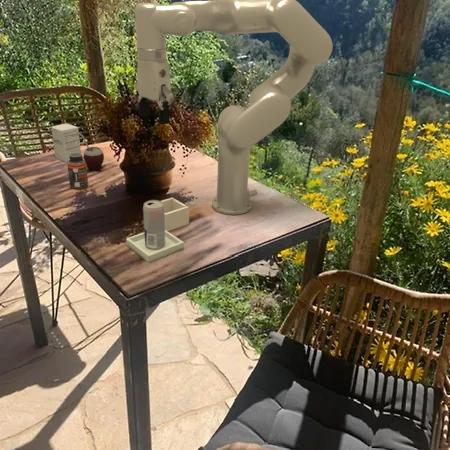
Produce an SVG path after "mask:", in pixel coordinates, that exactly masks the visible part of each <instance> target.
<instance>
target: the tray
mask: <svg viewBox="0 0 450 450" xmlns="http://www.w3.org/2000/svg"><path fill="white" fill-rule="evenodd" d="M125 244H126V246H127V247H128V248H129V249H131V250H132V251H133V252H134V253H136V254H137V255H139V257H140V258H142V259H143V260H145V261H146V262H147V263H149V264H150V263H152V262H154V261H157V260H160V259H162V258H165V257H168V256H169V255H172V254H174V253H177V252H179V251H182V250H184V249H185V242H184V241H183V240H181V239H180V238H178V237H176V235H174V234H172V233H171V232H170V231H166V230H165V245H164V246H163V247H162V248H160V249H149V248H147V247H146V245H145V234H144V232H141V233H138V234H134V235H133V236H129V237H127V238H125Z"/></svg>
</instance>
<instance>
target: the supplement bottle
mask: <svg viewBox="0 0 450 450" xmlns="http://www.w3.org/2000/svg"><path fill="white" fill-rule="evenodd" d="M69 157H70V160H69V161H68V162H66V163H67V165H66V167H67V172H68V180H69V187H70V188H72V189H74V190H82V189H85V188H87V187H88V186H89V181H88V179H89V178H88V168H87V165H86V162H85V160H84V158H83V154H82V153H81V154H80V153H73V154H70V155H69Z"/></svg>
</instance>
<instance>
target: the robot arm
mask: <svg viewBox="0 0 450 450" xmlns="http://www.w3.org/2000/svg"><path fill="white" fill-rule="evenodd" d="M134 15H135V16H134V17H135V19H134V20H135V33H136V56H137V77H136V79H137V82H135V84H134V89H135V94H136V96H137V102H138V108H139V113H138V114H139V116H140V117H141V118H142V117H148V116H150V115H151V110H150V109H151V108H150V107H151V106H150V104H151V103H150V102H151V101H153V102H156V103H157V105H158V108H159V109H158V125H167V124H170V122H171V121H170V115H171V114H170V110H171V108H172V105H173V100H174V97H175V96H174V94H173V93H172V86H171V85H172V83H171V76H170V68H169V63H168V62H167V39H166V37H167V35H170V36H171V35H172V36H177V37H178V36H179V37H185V36H188V35H190V34H192V33H193V32H218V33H223V34H228V35H241V34H242V35H245V34H247V35H248V34H260V33H261V34H265V33H266V34H267V33H278V35H280V36H281V37H282V38H283V39H284V40H285V41H286V43H288V44H289V54H288V57H287V60H286V61H285V63H284V64H283V65H282V66H281V67H280V68H279V69H278V70H277V71H276V72H274V74H272V75H271V76H269V77H268V78H267V79H266V80H264V81H263V82H261V83H260V84H259V85H258V86H257V87H255V88H254V89H253V90H252V91H251V93H250V95H249V98H248V101H249V106H248V107H247V108H244V107H242V106H239V105H237V104H236V105H229V106H227V107H225V108H224V109H223V110H222V111H221V112H220V114H219V117H218V119H217V139H218V140H217V141H218V146H217V147H218V149H217V150H218V152H217V155H218V156H217V180H216V181H217V182H216V183H217V186H216V197H215V198H213V200H212V201H211V207H212V209H213V210H214V211H215V212H218V213H221V214H224V215H233V216H235V215H243V214H245V213H248V212H249V211H250V210H251V209H252V202H251V201H250V199H251V197H255V196H257V195H258V190H257V189H251V190H250V191H249V188H248V185H249V173H250V172H249V171H250V169H249V168H250V160H251V159H250V158H251V157H250V156H251V147H253V146H254V145H256V144H257V143H259V142H260V141H261V140H262V139H264V138H265V137H267V136H268V135H269V134H270V133H272V132H273V131H274V130H276V129H277V128H278V127H280V126H281V125H282V124H283V123H284V122H285V121H286V119H287V118H288V117H289V115H290V112H291V110H292V109H291V108H292V104H291V99H292V98H294V97H295V96H296V95H297V94H298V93H300V92H301V91H302V90H303V89H304V88H305V87H306V86H307V85H308V83H309V82H310V80H311V78H312V76H313V73H314V70H315V67H316V66H317V65H320V64H324V63H325V62H326V61H327V60H328V59H329V58H330V56H331V54H332V53H333V41H332V38H331V36H330V34H329V33H328V31H326V30H325V28H323V26H322V25H320V23H319V22H318V21H316V19H315V18H314V17H313V16H312V15H311V14H310V13H309V12H308V11H307V10H306V9H305V8H304V7H303V5H301V3H300V2H299V1H297V0H194V1H193V0H192V1H175V2H172V3H171V4H166V5H165V4H164V5H163V4H161V3H157V2H140V3H137V4H136V5H135V8H134ZM149 100H150V101H149Z"/></svg>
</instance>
